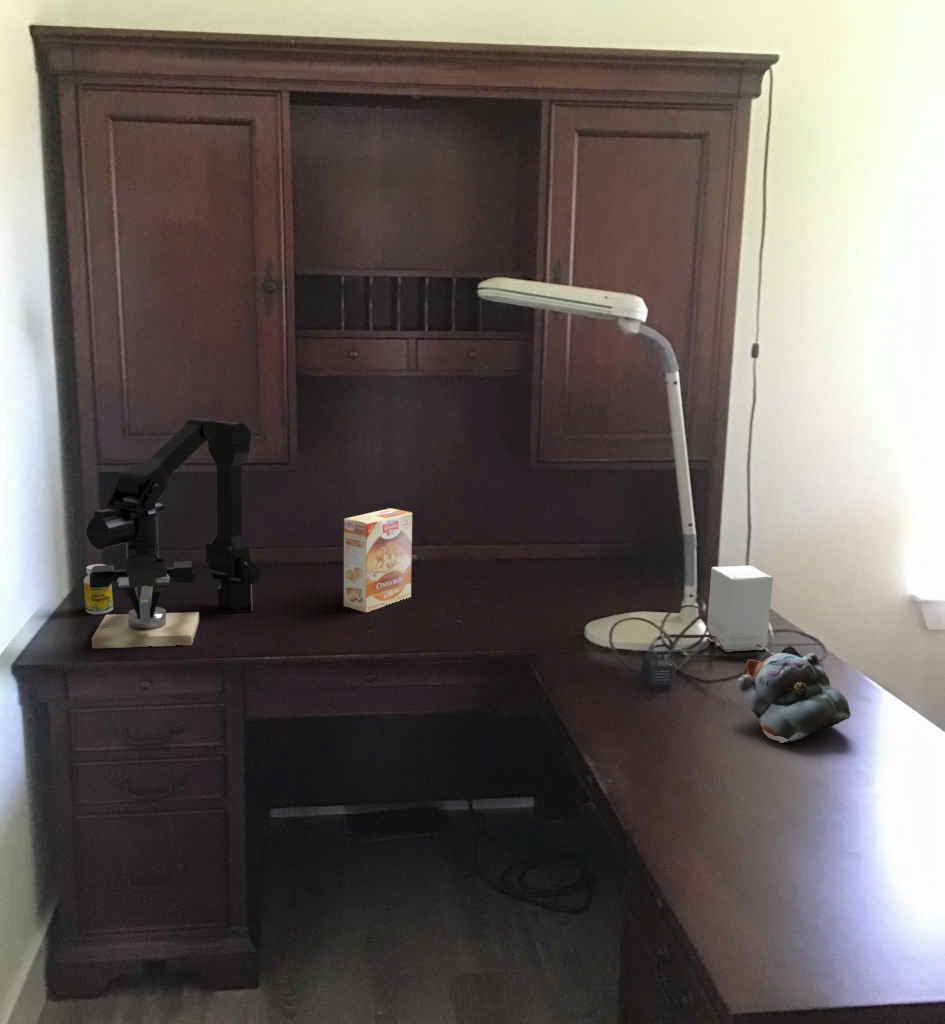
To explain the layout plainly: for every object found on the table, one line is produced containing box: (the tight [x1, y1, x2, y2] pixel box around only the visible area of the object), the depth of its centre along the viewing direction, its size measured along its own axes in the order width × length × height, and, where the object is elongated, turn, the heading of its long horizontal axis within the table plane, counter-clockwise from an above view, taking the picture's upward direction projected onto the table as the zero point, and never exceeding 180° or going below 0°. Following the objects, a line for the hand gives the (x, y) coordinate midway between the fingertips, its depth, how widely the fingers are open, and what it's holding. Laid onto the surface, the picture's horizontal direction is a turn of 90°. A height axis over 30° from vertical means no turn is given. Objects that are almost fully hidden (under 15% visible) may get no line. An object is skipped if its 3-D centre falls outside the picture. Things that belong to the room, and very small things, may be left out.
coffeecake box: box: [343, 507, 413, 613], centre depth 219 cm, size 15×7×20 cm, turn 143°
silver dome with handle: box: [127, 586, 167, 630], centre depth 196 cm, size 13×7×7 cm, turn 15°
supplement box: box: [706, 565, 774, 649], centre depth 198 cm, size 9×9×15 cm
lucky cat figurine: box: [737, 645, 852, 742], centre depth 160 cm, size 15×12×14 cm
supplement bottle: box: [83, 563, 114, 615], centre depth 209 cm, size 5×5×10 cm
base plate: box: [91, 611, 200, 649], centre depth 197 cm, size 18×14×2 cm
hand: (145, 617), depth 191 cm, fingers closed on silver dome with handle, 2 cm apart
